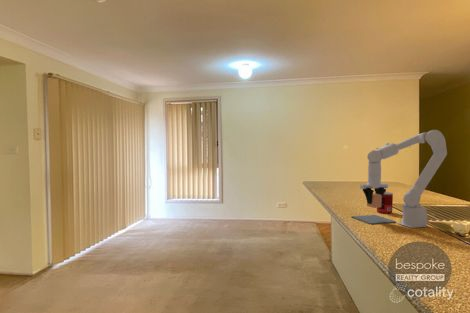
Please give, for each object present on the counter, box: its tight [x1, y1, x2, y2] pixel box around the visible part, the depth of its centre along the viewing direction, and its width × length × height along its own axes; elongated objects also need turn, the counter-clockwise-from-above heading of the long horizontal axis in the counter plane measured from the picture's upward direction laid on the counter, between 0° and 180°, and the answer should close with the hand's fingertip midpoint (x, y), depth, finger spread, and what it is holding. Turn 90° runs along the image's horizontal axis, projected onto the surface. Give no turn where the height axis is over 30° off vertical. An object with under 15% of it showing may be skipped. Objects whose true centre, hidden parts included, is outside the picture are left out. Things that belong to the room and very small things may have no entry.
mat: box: [351, 214, 397, 225], centre depth 146 cm, size 14×14×1 cm
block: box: [366, 192, 382, 209], centre depth 144 cm, size 4×4×6 cm
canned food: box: [376, 191, 394, 215], centre depth 163 cm, size 8×8×11 cm
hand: (373, 203), depth 144 cm, fingers closed on block, 4 cm apart
